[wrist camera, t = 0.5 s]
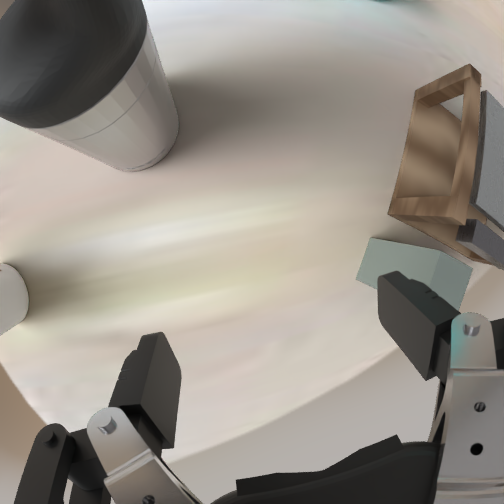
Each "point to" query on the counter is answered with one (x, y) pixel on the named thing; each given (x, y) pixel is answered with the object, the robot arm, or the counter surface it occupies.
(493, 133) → the trapdoor
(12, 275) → the milk bottle
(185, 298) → the counter surface
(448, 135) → the frame
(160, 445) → the robot arm
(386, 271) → the soapstone block
